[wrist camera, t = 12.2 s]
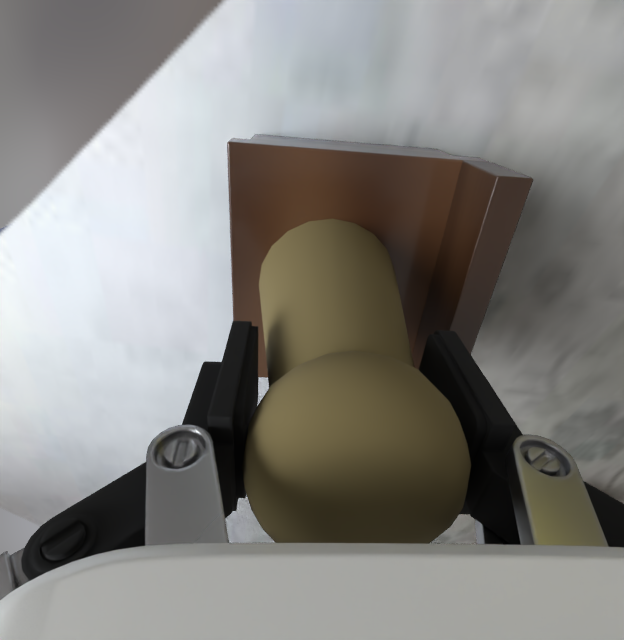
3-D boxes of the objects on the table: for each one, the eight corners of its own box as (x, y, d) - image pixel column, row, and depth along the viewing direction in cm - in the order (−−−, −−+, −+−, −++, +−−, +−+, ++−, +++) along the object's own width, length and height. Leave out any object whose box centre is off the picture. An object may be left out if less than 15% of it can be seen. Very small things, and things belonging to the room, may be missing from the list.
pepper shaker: (283, 197, 15) (261, 381, 6) (419, 247, 16) (588, 466, 7) (242, 321, 18) (182, 582, 8) (360, 355, 19) (422, 615, 10)
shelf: (246, 324, 24) (225, 420, 17) (243, 128, 18) (210, 153, 11) (403, 332, 24) (445, 427, 18) (448, 145, 19) (534, 178, 12)
